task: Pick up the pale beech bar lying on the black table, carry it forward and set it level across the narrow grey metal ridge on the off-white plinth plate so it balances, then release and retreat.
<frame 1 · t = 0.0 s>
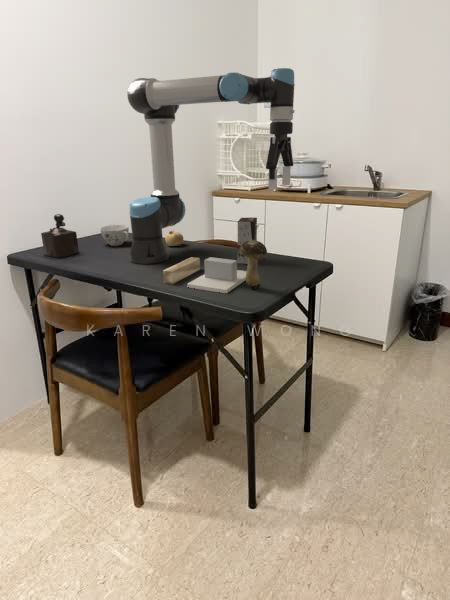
hand: (279, 187, 147), 28 cm above the table, fingers open, 13 cm apart
coffee box: (247, 261, 162), on the table
beech bar: (182, 276, 146), on the table
teacup: (118, 245, 190), on the table
onion: (175, 246, 187), on the table
fulcrum: (221, 281, 139), on the table
mushroom: (253, 288, 132), on the table
brown coffee grinder: (64, 255, 175), on the table
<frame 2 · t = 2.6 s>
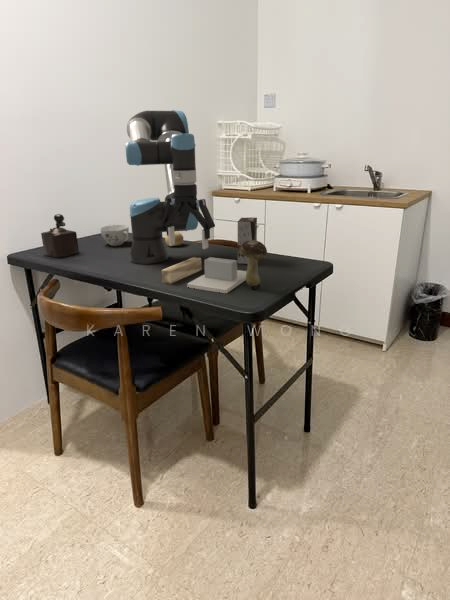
hand: (188, 246, 146), 9 cm above the table, fingers open, 13 cm apart
nothing on the table moved.
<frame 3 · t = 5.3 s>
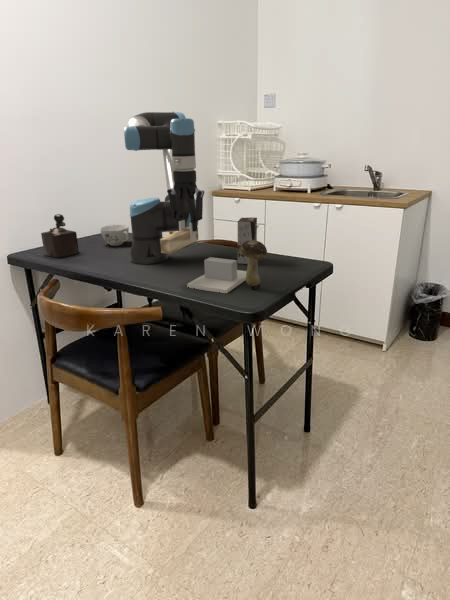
hand: (187, 239, 146), 12 cm above the table, fingers closed on beech bar, 3 cm apart
beech bar: (180, 245, 142), point 10 cm above the table, touching gripper
everything else where it was.
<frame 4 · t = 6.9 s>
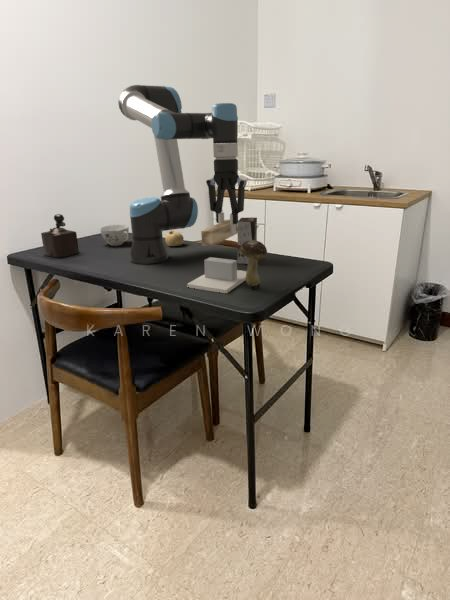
hand: (227, 233, 138), 15 cm above the table, fingers closed on beech bar, 3 cm apart
beech bar: (220, 239, 134), point 14 cm above the table, touching gripper
everything else where it was.
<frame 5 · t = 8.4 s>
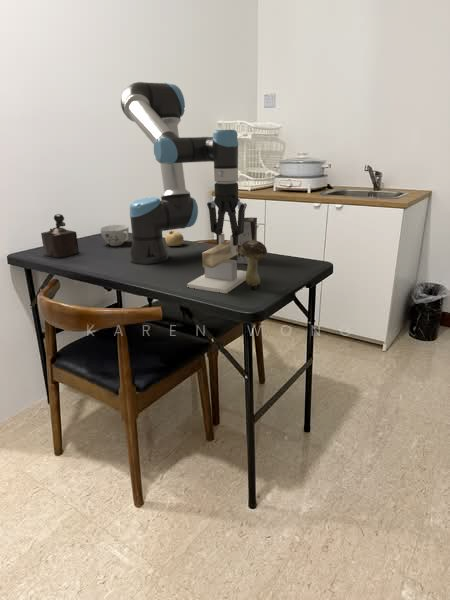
hand: (227, 254, 140), 8 cm above the table, fingers closed on beech bar, 3 cm apart
beech bar: (221, 260, 137), point 7 cm above the table, touching fulcrum, gripper
everything else where it was.
when the fingers open (8 cm above the table, at t = 9.0 s): beech bar stays where it is, resting on fulcrum.
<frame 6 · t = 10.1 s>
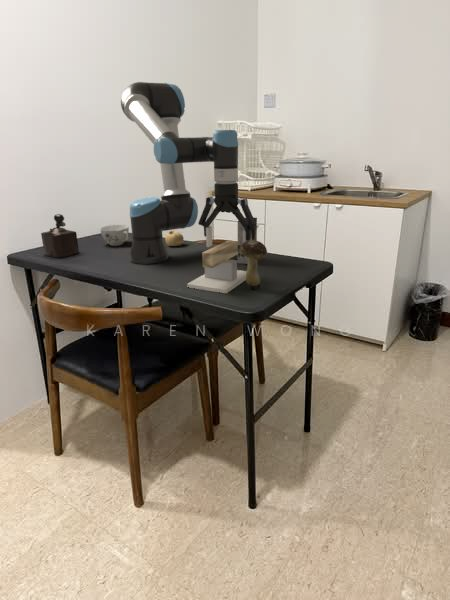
hand: (227, 248, 140), 10 cm above the table, fingers open, 13 cm apart
beech bar: (221, 260, 137), point 7 cm above the table, touching fulcrum
everything else where it was.
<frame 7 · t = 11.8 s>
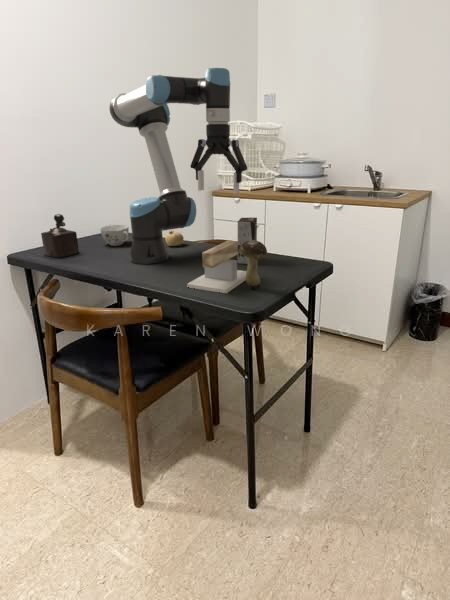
hand: (218, 191, 141), 28 cm above the table, fingers open, 13 cm apart
nothing on the table moved.
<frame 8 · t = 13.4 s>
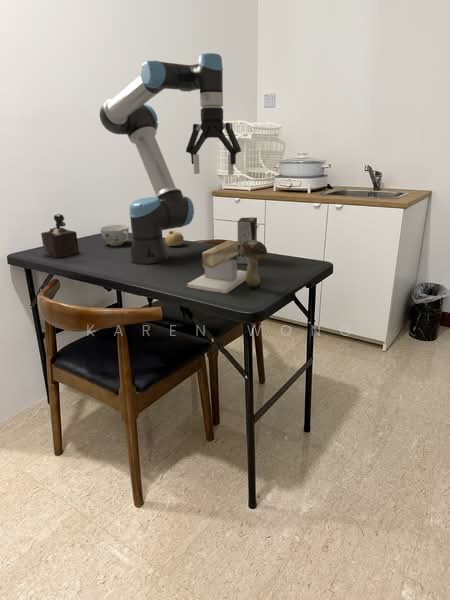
hand: (213, 174, 146), 33 cm above the table, fingers open, 13 cm apart
nothing on the table moved.
at the end: beech bar 0.2 cm off-centre on the fulcrum, point 7.2 cm above the fulcrum's base; beech bar tilted 0°; the gripper is holding nothing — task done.
